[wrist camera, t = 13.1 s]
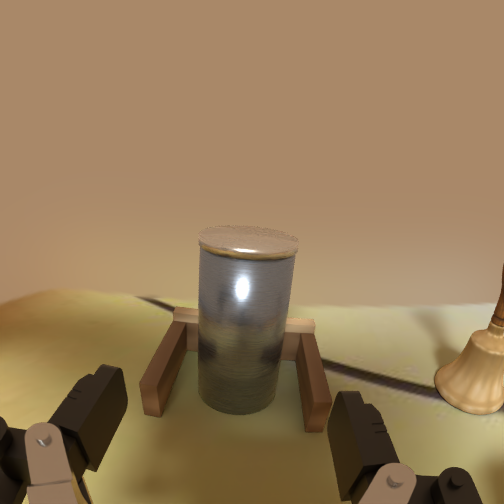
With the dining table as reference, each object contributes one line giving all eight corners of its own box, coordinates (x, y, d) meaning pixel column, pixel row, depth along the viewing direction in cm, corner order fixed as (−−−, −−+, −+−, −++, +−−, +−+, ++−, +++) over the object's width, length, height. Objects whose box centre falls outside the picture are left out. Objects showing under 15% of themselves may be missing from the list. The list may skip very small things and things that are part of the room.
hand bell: (433, 359, 27) (474, 208, 23) (496, 372, 23) (543, 227, 19) (434, 408, 20) (498, 216, 16) (509, 420, 16) (580, 242, 12)
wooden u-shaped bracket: (144, 414, 19) (137, 373, 18) (177, 341, 28) (176, 306, 27) (322, 432, 18) (335, 393, 17) (306, 353, 28) (313, 319, 27)
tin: (190, 409, 20) (188, 243, 17) (204, 362, 26) (208, 222, 23) (277, 418, 20) (304, 253, 16) (275, 369, 26) (293, 230, 22)
